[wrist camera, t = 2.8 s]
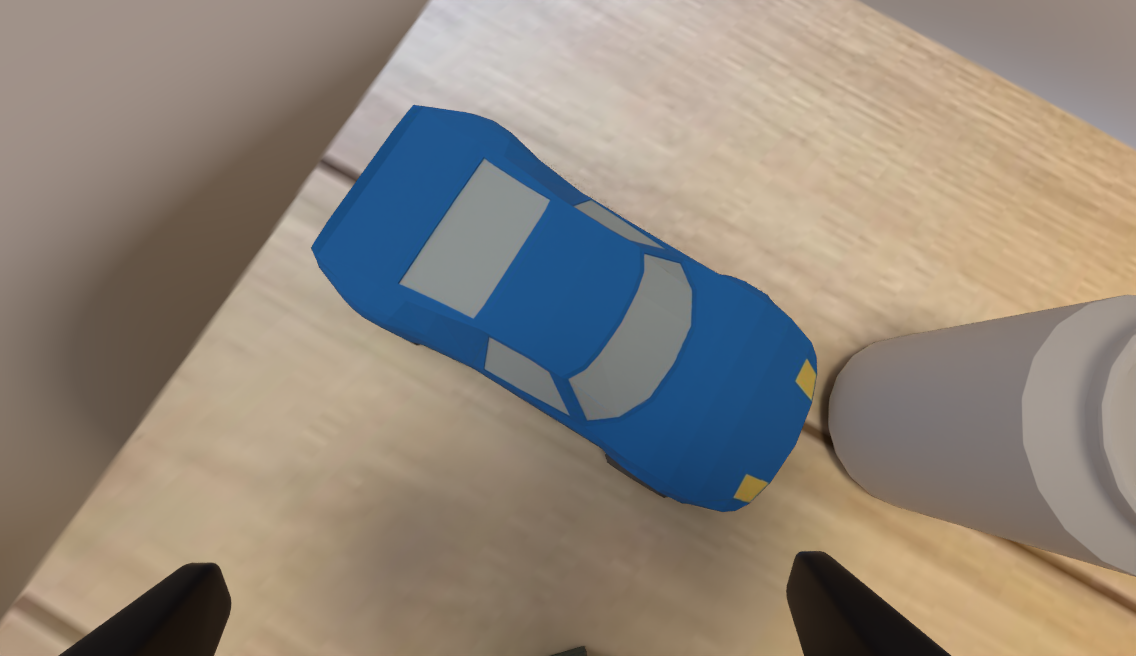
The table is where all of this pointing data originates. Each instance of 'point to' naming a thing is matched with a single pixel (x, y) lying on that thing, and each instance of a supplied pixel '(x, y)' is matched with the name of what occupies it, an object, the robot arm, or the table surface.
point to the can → (1004, 427)
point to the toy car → (571, 309)
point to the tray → (573, 652)
